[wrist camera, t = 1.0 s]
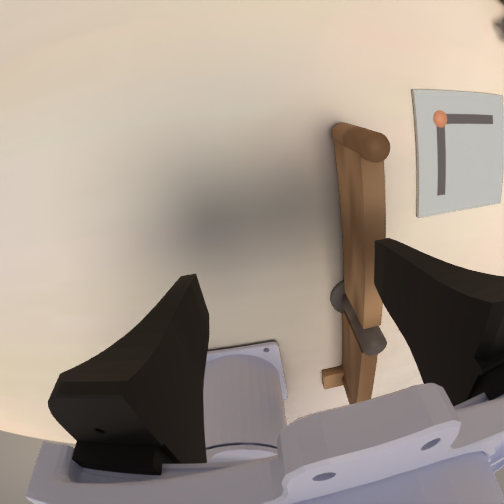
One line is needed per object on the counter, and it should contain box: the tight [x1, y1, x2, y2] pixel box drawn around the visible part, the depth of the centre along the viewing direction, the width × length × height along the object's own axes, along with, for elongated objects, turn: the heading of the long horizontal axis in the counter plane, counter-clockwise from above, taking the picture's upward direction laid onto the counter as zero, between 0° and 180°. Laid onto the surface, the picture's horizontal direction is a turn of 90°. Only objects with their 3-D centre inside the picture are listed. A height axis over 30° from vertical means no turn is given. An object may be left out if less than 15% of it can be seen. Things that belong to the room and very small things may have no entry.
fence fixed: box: [322, 280, 378, 404], centre depth 23 cm, size 5×12×6 cm, turn 10°
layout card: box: [412, 90, 504, 218], centre depth 18 cm, size 9×9×1 cm
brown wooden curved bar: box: [332, 123, 390, 356], centre depth 18 cm, size 14×2×5 cm, turn 10°
